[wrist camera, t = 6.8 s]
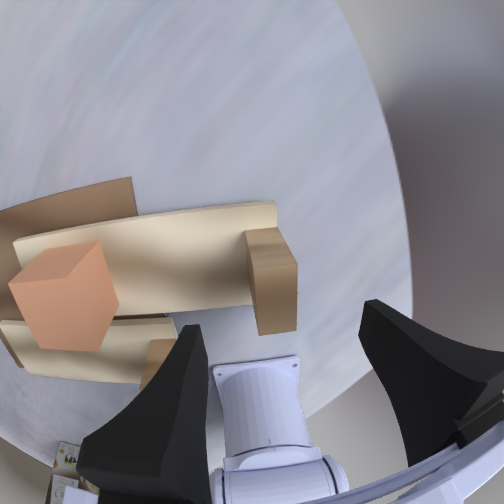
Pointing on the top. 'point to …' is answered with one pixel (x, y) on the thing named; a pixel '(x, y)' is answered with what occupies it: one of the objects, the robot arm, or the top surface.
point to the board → (56, 218)
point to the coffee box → (66, 474)
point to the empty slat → (100, 352)
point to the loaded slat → (192, 261)
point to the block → (67, 297)
